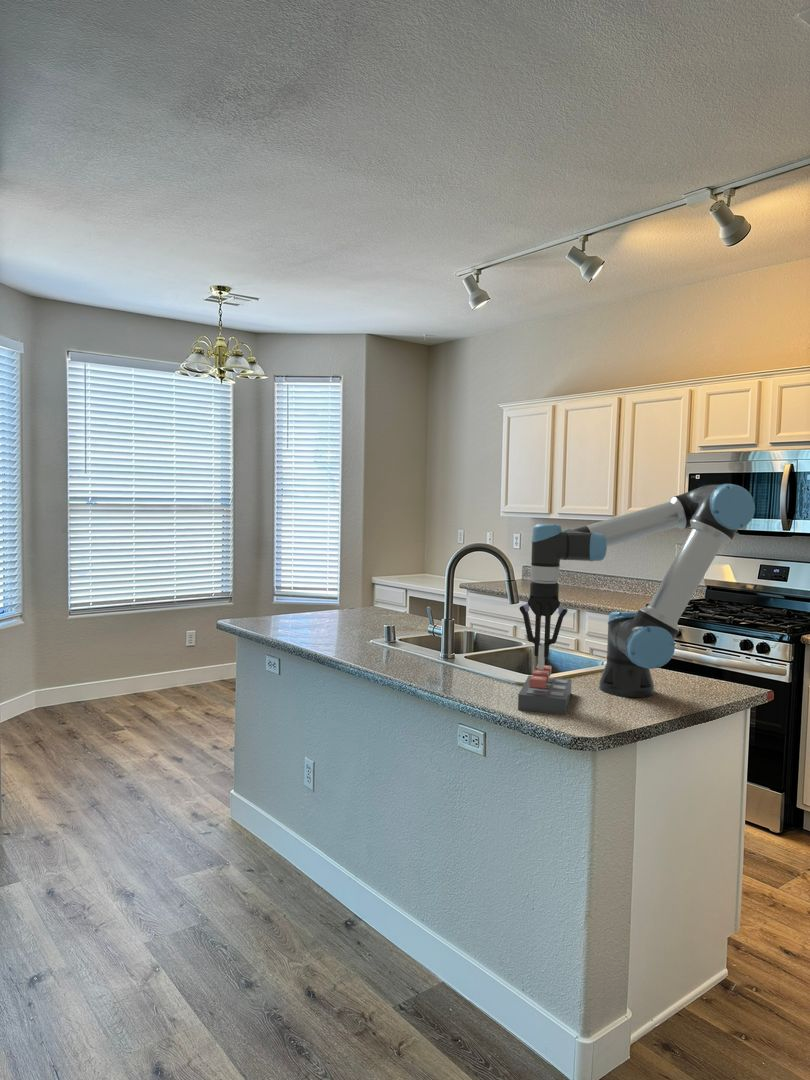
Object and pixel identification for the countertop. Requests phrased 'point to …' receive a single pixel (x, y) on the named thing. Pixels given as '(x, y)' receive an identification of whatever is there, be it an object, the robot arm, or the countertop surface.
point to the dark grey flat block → (546, 696)
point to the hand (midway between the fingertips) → (541, 668)
